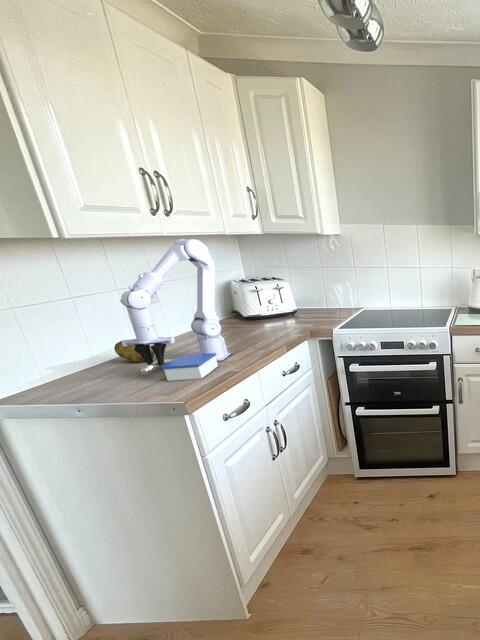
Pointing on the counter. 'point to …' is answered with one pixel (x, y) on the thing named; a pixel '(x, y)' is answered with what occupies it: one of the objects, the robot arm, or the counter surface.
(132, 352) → the potato
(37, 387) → the counter surface
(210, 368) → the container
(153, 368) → the spoon
